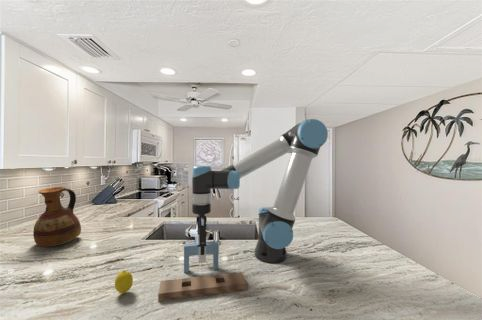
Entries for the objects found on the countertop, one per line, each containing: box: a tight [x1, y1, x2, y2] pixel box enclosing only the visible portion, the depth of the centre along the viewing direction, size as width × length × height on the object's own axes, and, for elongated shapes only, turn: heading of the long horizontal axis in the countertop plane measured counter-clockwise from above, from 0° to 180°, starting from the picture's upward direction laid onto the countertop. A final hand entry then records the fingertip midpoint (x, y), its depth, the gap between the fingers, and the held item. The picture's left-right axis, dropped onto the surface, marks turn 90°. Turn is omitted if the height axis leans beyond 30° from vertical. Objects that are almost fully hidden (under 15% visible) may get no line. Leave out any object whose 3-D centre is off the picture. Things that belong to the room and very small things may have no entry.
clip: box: [183, 240, 220, 274], centre depth 98 cm, size 14×3×11 cm, turn 103°
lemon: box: [114, 270, 134, 295], centre depth 81 cm, size 6×6×8 cm
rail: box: [157, 272, 248, 302], centre depth 84 cm, size 30×8×2 cm, turn 103°
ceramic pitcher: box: [32, 186, 82, 247], centre depth 126 cm, size 20×20×30 cm
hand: (201, 255), depth 98 cm, fingers open, 11 cm apart
